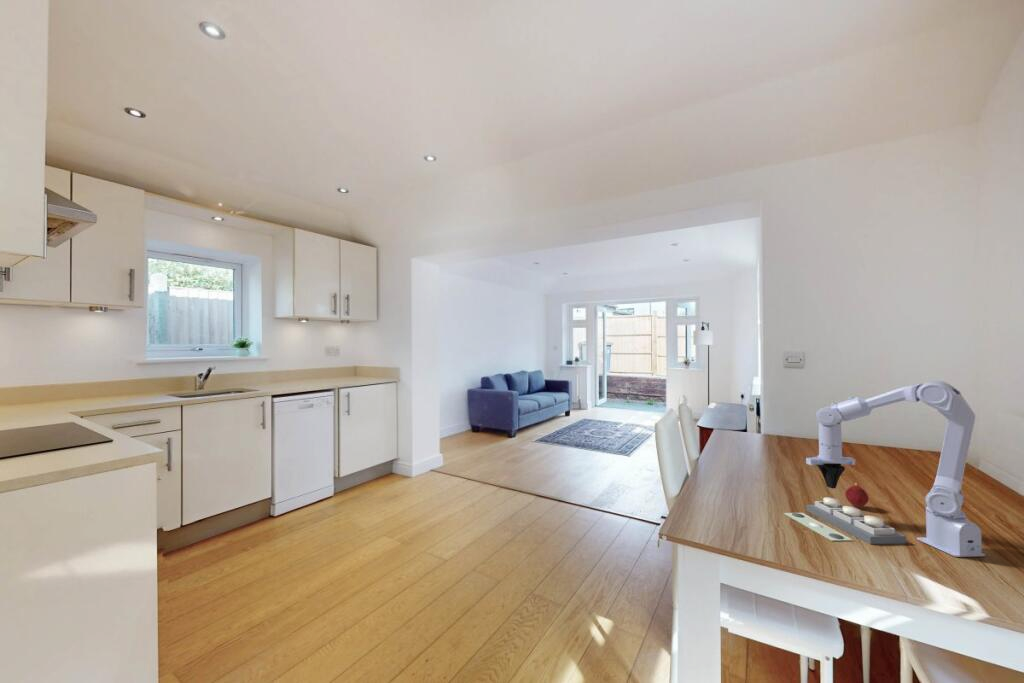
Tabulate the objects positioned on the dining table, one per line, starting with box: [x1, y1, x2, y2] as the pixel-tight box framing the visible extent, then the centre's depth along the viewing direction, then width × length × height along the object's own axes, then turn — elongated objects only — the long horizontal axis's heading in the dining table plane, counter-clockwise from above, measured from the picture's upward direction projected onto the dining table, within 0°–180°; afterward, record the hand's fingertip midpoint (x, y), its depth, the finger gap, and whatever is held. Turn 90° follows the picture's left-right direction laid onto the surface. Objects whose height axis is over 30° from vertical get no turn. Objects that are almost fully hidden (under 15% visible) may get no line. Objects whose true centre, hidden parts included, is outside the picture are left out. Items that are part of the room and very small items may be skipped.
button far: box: [822, 496, 841, 508], centre depth 124 cm, size 4×4×2 cm
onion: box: [844, 482, 869, 509], centre depth 130 cm, size 6×6×8 cm
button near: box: [864, 515, 885, 528], centre depth 110 cm, size 4×4×2 cm
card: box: [783, 512, 854, 542], centre depth 116 cm, size 18×6×1 cm, turn 2°
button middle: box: [843, 505, 861, 517], centre depth 117 cm, size 4×4×2 cm
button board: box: [806, 500, 907, 545], centre depth 117 cm, size 22×10×4 cm, turn 2°
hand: (831, 487), depth 124 cm, fingers closed
